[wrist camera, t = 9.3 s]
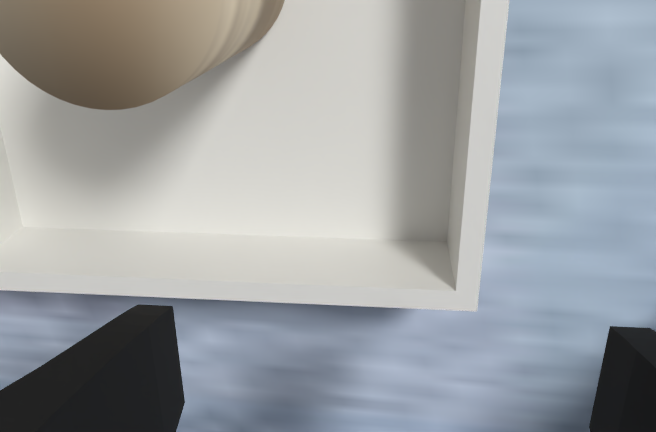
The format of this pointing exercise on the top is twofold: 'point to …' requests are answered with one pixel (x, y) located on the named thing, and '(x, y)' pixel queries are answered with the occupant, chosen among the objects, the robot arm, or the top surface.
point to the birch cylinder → (126, 44)
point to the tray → (272, 167)
